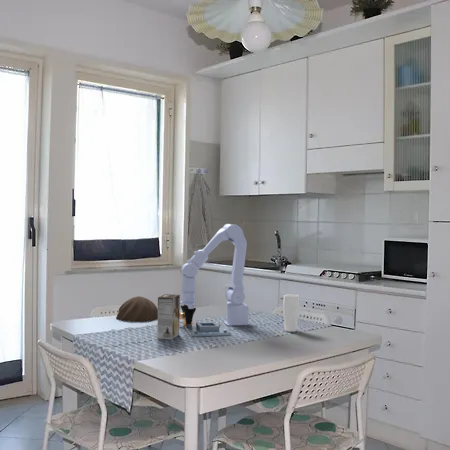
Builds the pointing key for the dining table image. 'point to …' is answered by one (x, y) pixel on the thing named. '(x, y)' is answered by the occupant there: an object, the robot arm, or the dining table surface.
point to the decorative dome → (138, 310)
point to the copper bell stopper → (182, 316)
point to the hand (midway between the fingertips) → (187, 322)
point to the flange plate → (207, 329)
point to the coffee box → (168, 316)
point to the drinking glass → (291, 311)
